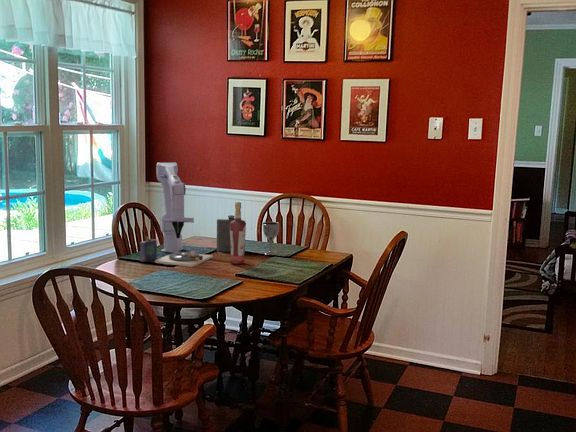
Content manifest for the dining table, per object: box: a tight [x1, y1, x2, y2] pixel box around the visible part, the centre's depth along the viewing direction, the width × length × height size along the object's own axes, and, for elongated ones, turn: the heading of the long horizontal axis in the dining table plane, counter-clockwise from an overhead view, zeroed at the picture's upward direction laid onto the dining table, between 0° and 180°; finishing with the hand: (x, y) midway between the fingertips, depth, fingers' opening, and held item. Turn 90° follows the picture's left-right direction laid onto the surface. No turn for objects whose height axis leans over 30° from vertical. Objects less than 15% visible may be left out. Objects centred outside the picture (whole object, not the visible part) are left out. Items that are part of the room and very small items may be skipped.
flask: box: [216, 214, 246, 254], centre depth 299 cm, size 4×14×18 cm, turn 79°
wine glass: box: [262, 221, 280, 256], centre depth 298 cm, size 8×8×15 cm
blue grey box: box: [139, 236, 158, 263], centre depth 279 cm, size 9×3×11 cm, turn 146°
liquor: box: [229, 201, 247, 266], centre depth 275 cm, size 7×7×28 cm
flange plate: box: [168, 250, 200, 261], centre depth 280 cm, size 16×14×4 cm
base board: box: [154, 251, 214, 268], centre depth 281 cm, size 20×19×3 cm
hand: (178, 237), depth 284 cm, fingers closed
